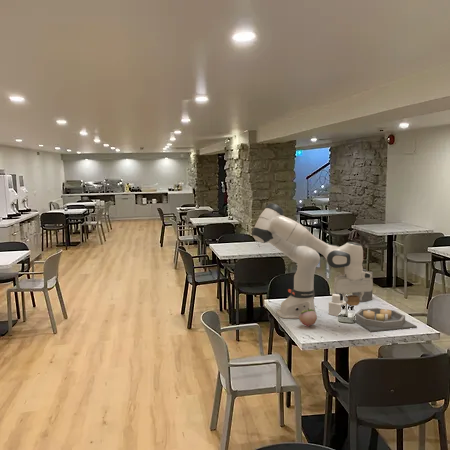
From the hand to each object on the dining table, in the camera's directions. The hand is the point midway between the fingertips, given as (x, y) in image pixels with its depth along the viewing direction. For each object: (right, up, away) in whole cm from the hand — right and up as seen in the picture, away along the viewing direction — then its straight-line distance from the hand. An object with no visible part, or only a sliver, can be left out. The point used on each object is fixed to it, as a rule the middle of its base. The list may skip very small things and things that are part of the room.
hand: (352, 300), depth 229 cm
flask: (+22, -9, +54) cm, 59 cm away
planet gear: (0, -2, 0) cm, 2 cm away
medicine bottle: (-1, -12, +27) cm, 29 cm away
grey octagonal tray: (+18, -14, +12) cm, 26 cm away
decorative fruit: (-21, -15, +6) cm, 27 cm away
